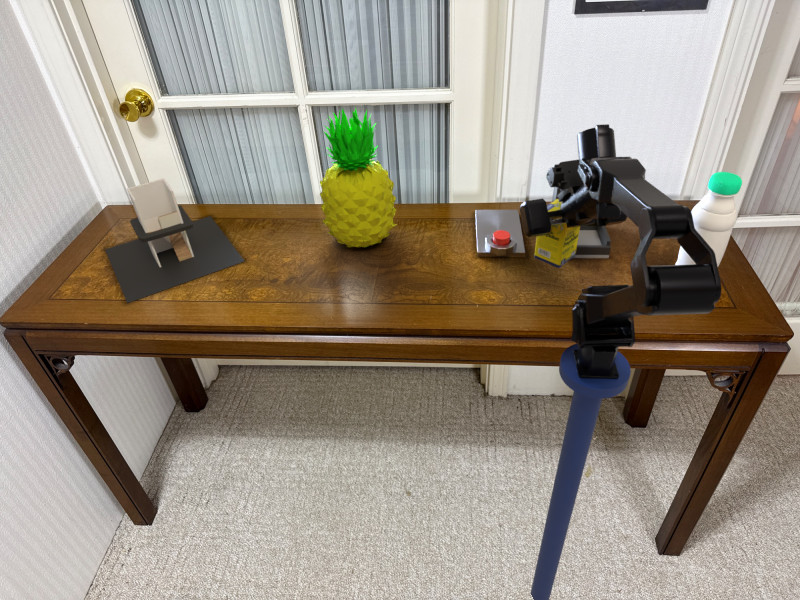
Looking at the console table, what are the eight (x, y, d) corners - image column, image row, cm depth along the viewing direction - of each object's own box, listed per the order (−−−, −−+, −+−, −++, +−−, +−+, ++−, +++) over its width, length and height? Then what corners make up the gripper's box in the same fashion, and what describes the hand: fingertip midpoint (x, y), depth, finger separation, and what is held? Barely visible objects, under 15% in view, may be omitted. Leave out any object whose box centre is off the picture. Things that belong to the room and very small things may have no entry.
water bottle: (704, 288, 109) (748, 169, 94) (707, 311, 104) (754, 188, 88) (665, 282, 111) (702, 164, 96) (666, 304, 106) (704, 183, 90)
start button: (510, 246, 119) (510, 239, 118) (493, 246, 119) (493, 239, 118) (509, 237, 122) (509, 230, 121) (492, 237, 122) (492, 230, 121)
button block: (525, 260, 119) (526, 248, 117) (477, 260, 120) (478, 248, 118) (517, 214, 134) (518, 202, 132) (475, 214, 135) (475, 203, 133)
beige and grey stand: (127, 303, 114) (96, 234, 104) (104, 249, 131) (76, 185, 120) (244, 261, 124) (227, 194, 114) (210, 216, 140) (192, 154, 130)
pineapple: (320, 260, 123) (298, 126, 104) (329, 220, 136) (311, 95, 117) (396, 258, 122) (388, 123, 103) (399, 218, 135) (391, 92, 116)
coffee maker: (608, 258, 118) (621, 198, 110) (557, 258, 119) (566, 199, 111) (596, 224, 129) (607, 167, 120) (548, 223, 130) (556, 167, 121)
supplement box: (559, 269, 108) (567, 219, 101) (533, 258, 112) (538, 209, 105) (576, 256, 111) (584, 207, 105) (549, 246, 115) (556, 197, 108)
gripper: (633, 146, 95) (592, 178, 111) (528, 160, 93) (501, 191, 108) (648, 209, 94) (604, 233, 109) (542, 225, 92) (512, 247, 107)
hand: (555, 224), depth 109 cm, fingers closed on supplement box, 8 cm apart
